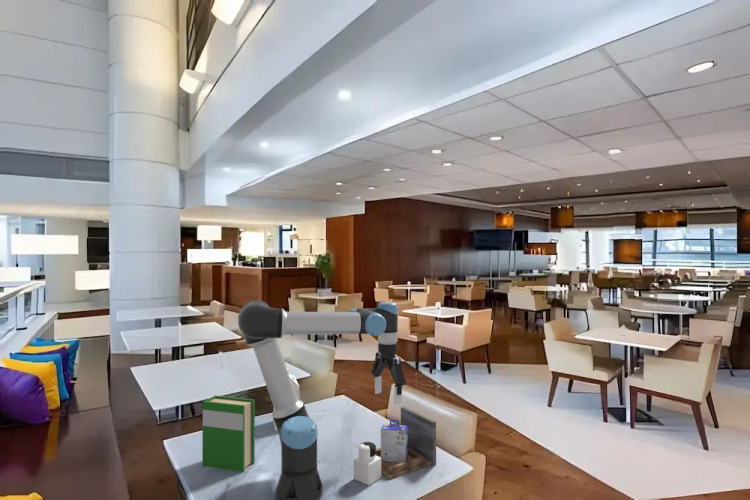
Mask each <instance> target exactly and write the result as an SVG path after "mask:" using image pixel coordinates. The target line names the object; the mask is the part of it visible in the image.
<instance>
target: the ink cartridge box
mask: <svg viewBox="0 0 750 500" xmlns="http://www.w3.org/2000/svg"><path fill="white" fill-rule="evenodd" d="M392 422H393V423H392ZM394 422H396V423H394ZM380 448H381V459H382V460H383V461H387V462H398V463H402V462H405V461H407V458H408V433H407V426H404V425H401V424H400V419H395V418H393V419H392V418H390V419H389V424H382V426H381V427H380Z"/></svg>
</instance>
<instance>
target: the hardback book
mask: <svg viewBox="0 0 750 500" xmlns="http://www.w3.org/2000/svg"><path fill="white" fill-rule="evenodd" d="M255 402H256V401H255V399H252V398H242V397H233V396H225V395H223V396H222V395H214V396H211V397H209V398H207V399H205V400H203V401H202V460H201V461H202V467H207V468H213V469H218V470H225V471H232V472H238V473H245V469H246V468H247V467H248V466H249V465H255V458H256V455H255V445H256V444H255V441H256V440H255V437H256V435H255V433H256V432H255V431H256V430H255V429H256V428H255V427H256V426H255V421H256V420H255V416H256V413H255V412H256V411H255V408H256V406H255V405H256V403H255Z"/></svg>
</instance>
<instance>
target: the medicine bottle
mask: <svg viewBox="0 0 750 500" xmlns="http://www.w3.org/2000/svg"><path fill="white" fill-rule="evenodd" d="M376 449H377V446H376V444H375V443H374V442H372V441H371V442H370V441H364V442H361V443H360V444H359V445H358V456H356V457H355V458H353V480H355V481H358V482H360V483H362V484H363V485H367V486H370V485H372V484H374V483H375V482H377V481H378V480H380V479H381V478H382V474H381V457H378V456H376Z"/></svg>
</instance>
